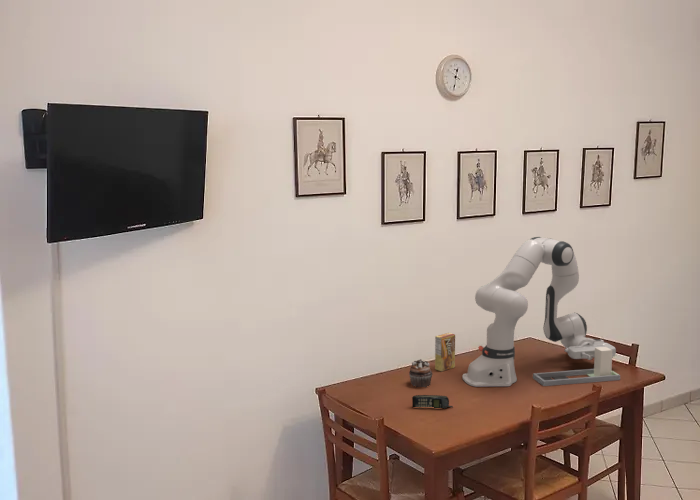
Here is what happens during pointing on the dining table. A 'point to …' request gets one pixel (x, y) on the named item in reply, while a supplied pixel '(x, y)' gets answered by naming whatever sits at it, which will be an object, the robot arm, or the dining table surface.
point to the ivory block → (602, 361)
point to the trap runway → (562, 379)
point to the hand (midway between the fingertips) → (601, 357)
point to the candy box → (444, 351)
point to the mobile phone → (430, 401)
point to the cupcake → (420, 373)
